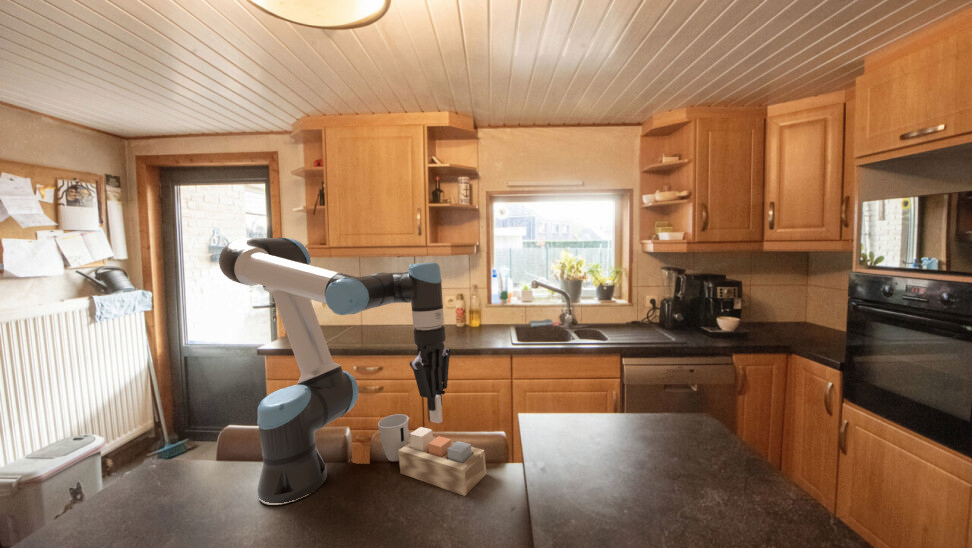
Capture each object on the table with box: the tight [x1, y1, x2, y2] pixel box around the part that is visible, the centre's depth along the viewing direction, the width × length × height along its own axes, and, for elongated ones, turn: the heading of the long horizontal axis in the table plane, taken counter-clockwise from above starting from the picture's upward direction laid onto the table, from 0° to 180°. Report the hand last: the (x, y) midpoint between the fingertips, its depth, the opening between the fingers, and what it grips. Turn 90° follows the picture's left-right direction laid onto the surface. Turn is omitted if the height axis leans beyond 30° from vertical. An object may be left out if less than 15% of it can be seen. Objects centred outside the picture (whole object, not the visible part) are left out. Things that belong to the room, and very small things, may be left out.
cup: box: [377, 413, 410, 462], centre depth 102 cm, size 8×8×10 cm
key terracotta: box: [428, 435, 452, 458], centre depth 92 cm, size 4×4×6 cm
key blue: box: [447, 440, 472, 463], centre depth 89 cm, size 4×4×6 cm
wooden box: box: [398, 436, 487, 497], centre depth 92 cm, size 20×9×6 cm, turn 57°
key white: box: [409, 426, 434, 452], centre depth 95 cm, size 4×4×6 cm
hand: (436, 421), depth 91 cm, fingers closed
